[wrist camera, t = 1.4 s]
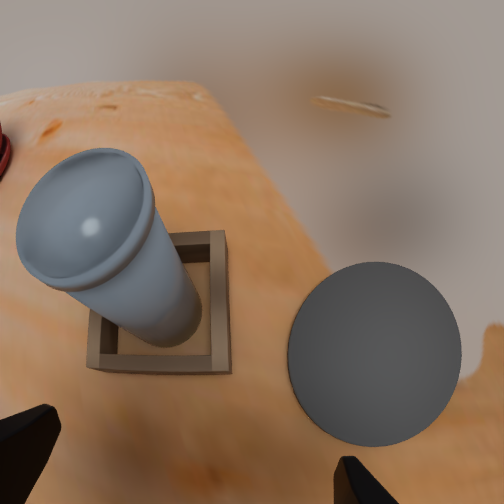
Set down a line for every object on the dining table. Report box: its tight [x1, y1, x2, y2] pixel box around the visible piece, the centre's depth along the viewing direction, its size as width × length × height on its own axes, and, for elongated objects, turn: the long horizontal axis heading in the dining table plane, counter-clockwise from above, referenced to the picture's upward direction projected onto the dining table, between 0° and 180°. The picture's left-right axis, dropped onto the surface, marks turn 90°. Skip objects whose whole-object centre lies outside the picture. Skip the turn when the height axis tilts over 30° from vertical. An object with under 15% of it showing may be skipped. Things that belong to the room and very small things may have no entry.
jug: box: [16, 148, 202, 348], centre depth 17 cm, size 8×6×14 cm
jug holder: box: [86, 230, 232, 375], centre depth 22 cm, size 10×10×3 cm
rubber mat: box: [288, 262, 462, 447], centre depth 21 cm, size 14×14×1 cm
